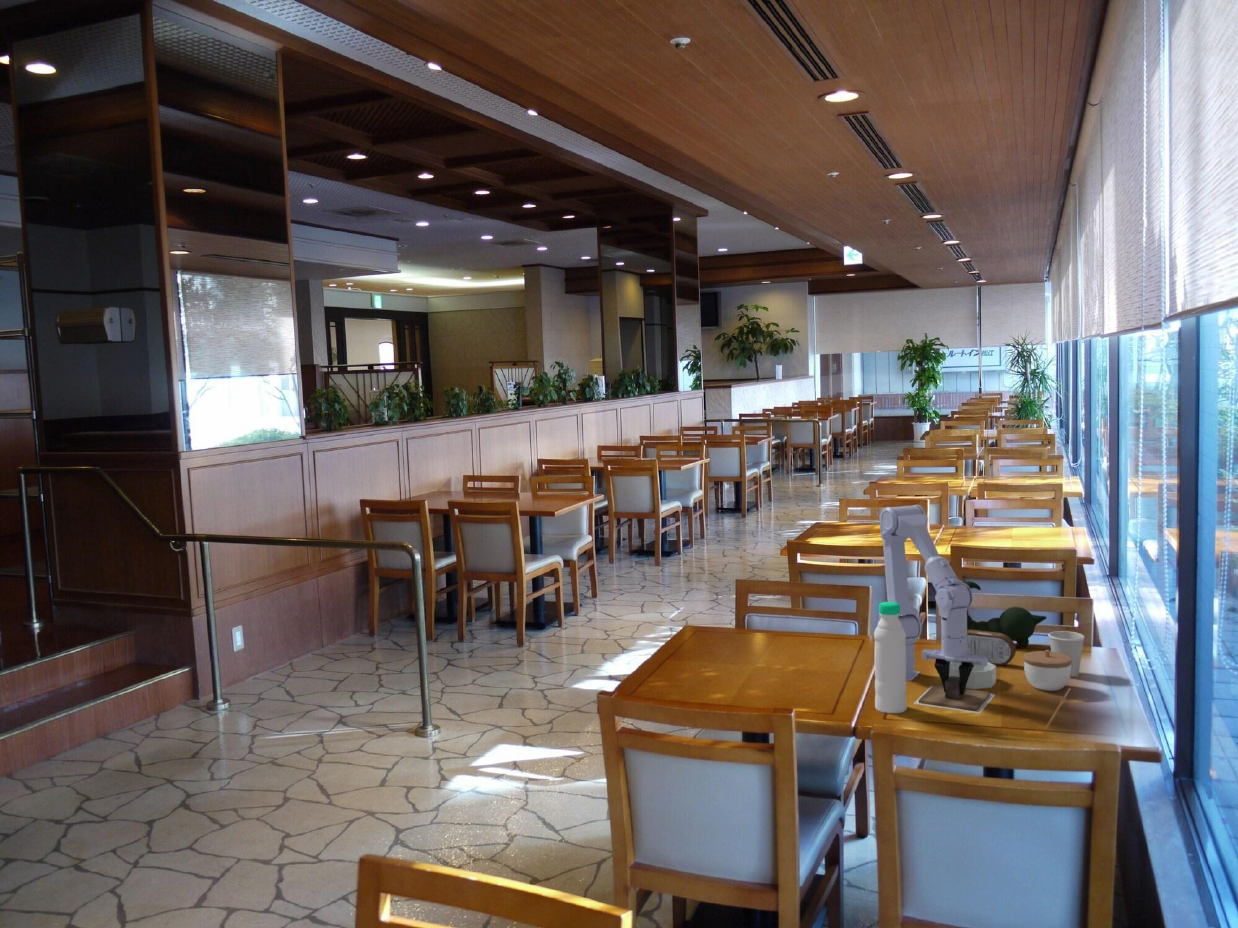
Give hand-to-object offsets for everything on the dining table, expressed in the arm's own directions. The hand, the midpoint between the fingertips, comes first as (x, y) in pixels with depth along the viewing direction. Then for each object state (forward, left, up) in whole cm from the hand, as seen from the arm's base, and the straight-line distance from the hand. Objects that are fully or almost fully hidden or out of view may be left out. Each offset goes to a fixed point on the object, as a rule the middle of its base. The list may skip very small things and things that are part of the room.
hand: (954, 692), depth 232 cm
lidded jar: (+17, +19, -2) cm, 26 cm away
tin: (-1, +34, -2) cm, 34 cm away
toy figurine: (-2, +53, -2) cm, 53 cm away
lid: (0, 0, -2) cm, 2 cm away
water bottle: (-11, -13, -2) cm, 17 cm away
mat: (0, 0, -2) cm, 2 cm away
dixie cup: (+19, +33, -2) cm, 38 cm away
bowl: (0, +15, -2) cm, 15 cm away
